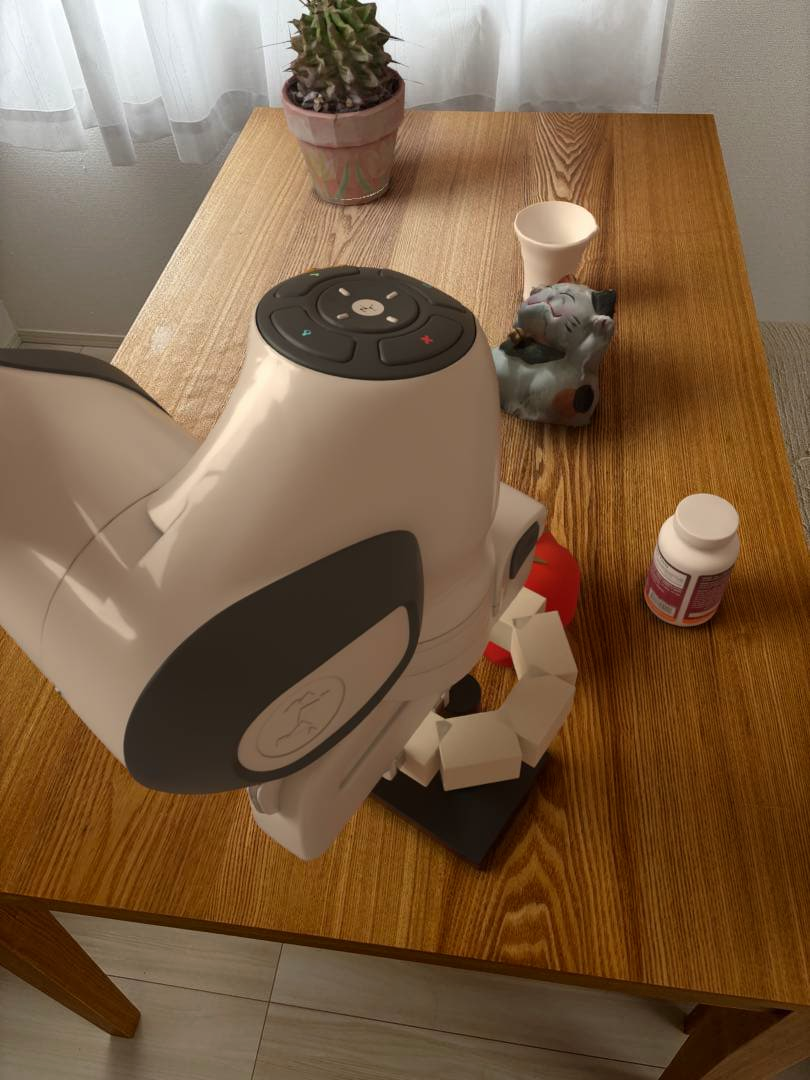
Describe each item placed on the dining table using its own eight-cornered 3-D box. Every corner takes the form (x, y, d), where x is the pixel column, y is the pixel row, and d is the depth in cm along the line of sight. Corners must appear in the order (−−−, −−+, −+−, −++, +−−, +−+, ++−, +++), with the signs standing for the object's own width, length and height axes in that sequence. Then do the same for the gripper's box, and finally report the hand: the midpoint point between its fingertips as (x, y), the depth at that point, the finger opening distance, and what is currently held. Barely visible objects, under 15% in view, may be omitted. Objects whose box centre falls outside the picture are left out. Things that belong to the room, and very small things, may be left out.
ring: (493, 832, 48) (495, 811, 46) (306, 709, 53) (300, 685, 51) (605, 658, 55) (612, 632, 52) (430, 564, 60) (429, 536, 57)
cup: (578, 329, 97) (589, 250, 89) (499, 313, 100) (503, 234, 92) (598, 284, 102) (609, 205, 94) (522, 269, 105) (527, 192, 97)
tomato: (444, 689, 70) (443, 619, 62) (439, 563, 78) (438, 487, 70) (584, 686, 69) (600, 615, 61) (565, 559, 77) (578, 482, 69)
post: (478, 871, 61) (483, 797, 50) (364, 793, 65) (347, 711, 54) (548, 759, 66) (566, 672, 55) (439, 694, 69) (436, 600, 59)
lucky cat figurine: (449, 377, 93) (486, 246, 87) (543, 390, 98) (585, 267, 92) (510, 434, 81) (558, 287, 75) (614, 446, 86) (667, 308, 80)
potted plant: (394, 237, 110) (381, 24, 91) (262, 207, 116) (224, 0, 96) (450, 169, 120) (450, -37, 100) (327, 144, 126) (303, -55, 106)
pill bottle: (717, 575, 75) (751, 491, 67) (716, 635, 72) (752, 553, 63) (644, 565, 76) (668, 480, 68) (640, 622, 73) (664, 541, 64)
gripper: (304, 824, 33) (342, 924, 44) (565, 486, 43) (543, 636, 54) (185, 738, 35) (248, 853, 46) (458, 438, 45) (458, 590, 56)
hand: (409, 734), depth 50 cm, fingers closed on ring, 3 cm apart
